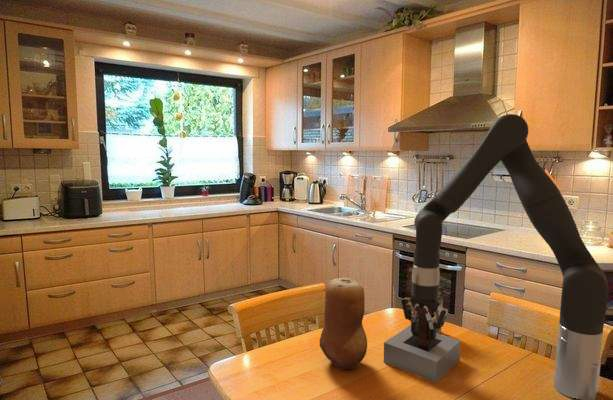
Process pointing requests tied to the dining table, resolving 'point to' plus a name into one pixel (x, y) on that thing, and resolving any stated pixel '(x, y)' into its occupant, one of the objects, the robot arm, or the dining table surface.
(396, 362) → the socket block
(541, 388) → the dining table surface
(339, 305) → the butternut squash
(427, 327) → the bolt
